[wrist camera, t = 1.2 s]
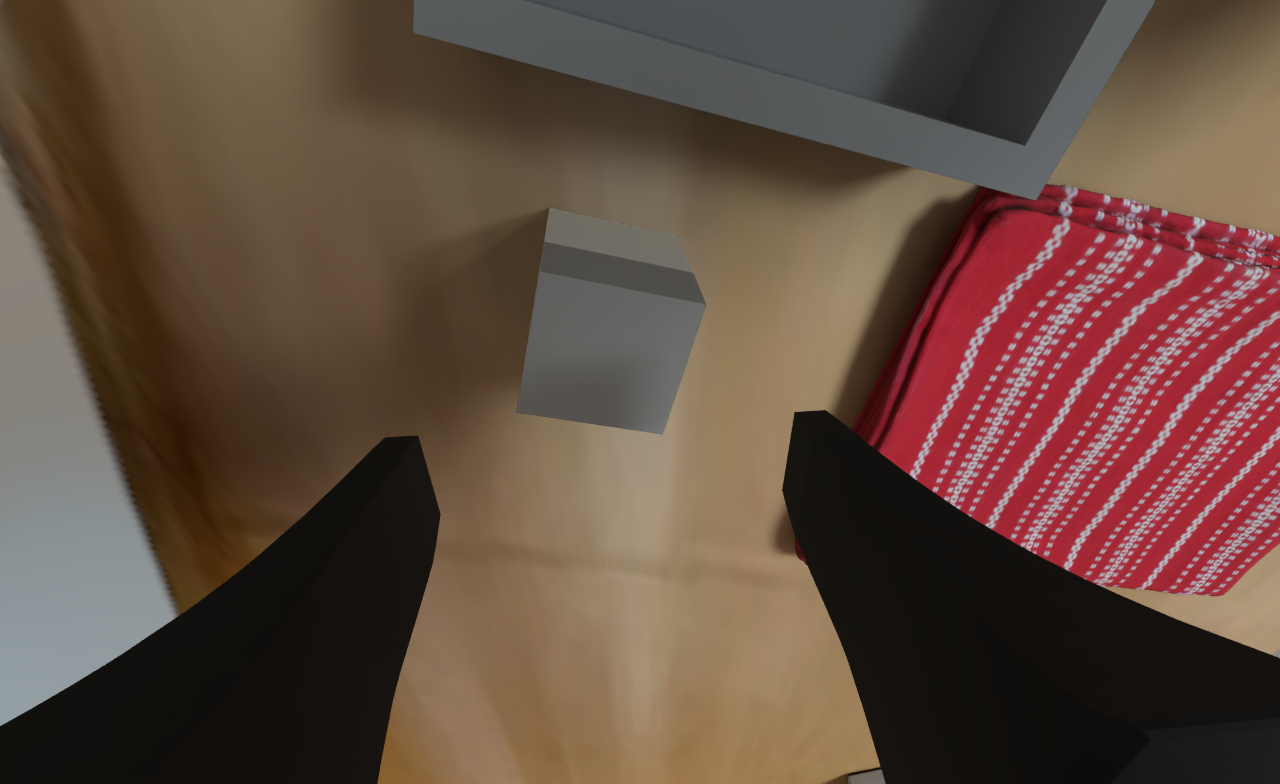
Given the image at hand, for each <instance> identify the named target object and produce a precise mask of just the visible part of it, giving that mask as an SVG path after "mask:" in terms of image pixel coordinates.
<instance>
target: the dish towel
mask: <svg viewBox="0 0 1280 784" xmlns="http://www.w3.org/2000/svg"><path fill="white" fill-rule="evenodd" d="M852 431H853V432H854V433H856V434H857V435H858V436H859V437H861V438H862V439H863V440H865V441H866V442H867V443H868V444H870V445H871V446H872V447H873V448H875V449H876V450H877V451H878V452H880V453H881V454H882V455H884V456H885V457H886V458H888V459H889V460H890V461H891V462H893V463H894V464H895V465H897V466H898V467H899V468H901V469H902V470H903V471H905V472H906V473H907V474H909V475H910V476H912V477H913V478H914V479H916V480H917V481H918V482H920V483H921V484H923V485H924V486H925V487H927V488H928V489H930V490H931V491H933V492H934V493H936V494H937V495H939V496H940V497H942V498H943V499H945V500H946V501H947V502H949V503H950V504H952V505H953V506H955V507H956V508H958V509H959V510H961V511H962V512H964V513H966V514H967V515H969V516H970V517H972V518H974V519H975V520H977V521H978V522H980V523H982V524H983V525H985V526H987V527H989V528H990V529H992V530H994V531H995V532H997V533H999V534H1001V535H1002V536H1004V537H1006V538H1007V539H1009V540H1011V541H1013V542H1014V543H1016V544H1018V545H1020V546H1021V547H1023V548H1025V549H1027V550H1029V551H1031V552H1033V553H1034V554H1036V555H1038V556H1040V557H1042V558H1044V559H1046V560H1048V561H1050V562H1052V563H1054V564H1056V565H1058V566H1060V567H1062V568H1064V569H1066V570H1068V571H1070V572H1072V573H1074V574H1076V575H1078V576H1080V577H1082V578H1084V579H1086V580H1088V581H1090V582H1092V583H1094V584H1097V585H1099V586H1110V587H1121V588H1129V589H1134V590H1139V589H1144V590H1152V591H1157V592H1167V593H1173V594H1176V595H1208V596H1221V595H1224V594H1225V593H1226V592H1227V591H1228V590H1230V589H1231V588H1232V587H1233V586H1234V585H1235V584H1236V583H1237V581H1238V580H1239V579H1240V578H1241V577H1242V576H1243V575H1244V574H1245V573H1246V572H1247V571H1248V570H1249V569H1250V568H1251V567H1252V566H1253V565H1255V564H1256V563H1257V562H1258V561H1259V560H1260V559H1261V558H1263V557H1264V556H1265V555H1266V554H1267V553H1269V552H1270V551H1271V550H1272V549H1273V548H1275V547H1276V546H1277V545H1278V544H1280V237H1277V236H1274V235H1272V234H1269V233H1265V232H1262V231H1260V230H1254V229H1242V228H1238V227H1235V226H1233V225H1227V224H1221V223H1217V222H1213V221H1208V220H1204V219H1201V218H1198V217H1188V216H1185V215H1181V214H1177V213H1171V212H1168V211H1167V210H1165V209H1161V208H1154V207H1151V206H1149V205H1147V204H1143V203H1140V202H1137V201H1134V200H1129V199H1122V198H1113V197H1110V196H1108V195H1106V194H1099V193H1094V192H1090V191H1086V190H1082V189H1077V188H1076V187H1072V186H1069V185H1060V186H1057V185H1048V184H1046V185H1045V186H1044V188H1043V190H1042V191H1041V193H1040V195H1039V196H1038V198H1037V200H1032V199H1028V198H1025V197H1021V196H1017V195H1013V194H1010V193H1006V192H1002V191H999V190H995V189H991V188H987V187H984V186H981V188H980V190H979V192H978V195H977V197H976V199H975V201H974V202H973V204H972V206H971V207H970V209H969V210H968V212H967V213H966V215H965V217H964V218H963V220H962V221H961V223H960V225H959V227H958V229H957V230H956V232H955V234H954V236H953V237H952V239H951V241H950V243H949V245H948V246H947V248H946V250H945V252H944V254H943V256H942V258H941V260H940V262H939V264H938V266H937V267H936V269H935V271H934V273H933V275H932V277H931V279H930V281H929V283H928V285H927V287H926V289H925V291H924V293H923V295H922V297H921V299H920V301H919V303H918V305H917V307H916V309H915V311H914V313H913V314H912V316H911V318H910V320H909V321H908V323H907V325H906V326H905V328H904V330H903V333H902V335H901V337H900V339H899V341H898V343H897V344H896V346H895V348H894V350H893V351H892V353H891V355H890V357H889V359H888V362H887V364H886V365H885V367H884V369H883V371H882V373H881V375H880V377H879V379H878V381H877V383H876V385H875V387H874V389H873V390H872V392H871V394H870V396H869V398H868V400H867V402H866V403H865V406H864V408H863V410H862V412H861V414H860V416H859V418H858V420H857V422H856V424H855V425H854V427H853V429H852ZM795 550H796V554H797V557H798V558H799V559H800V560H802V561H804V563H805V564H806V565H807V563H806V561H805V558H804V556H803V554H802V551H801V549H800V546H799V544H798V542H797V539H796V537H795Z"/></svg>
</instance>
